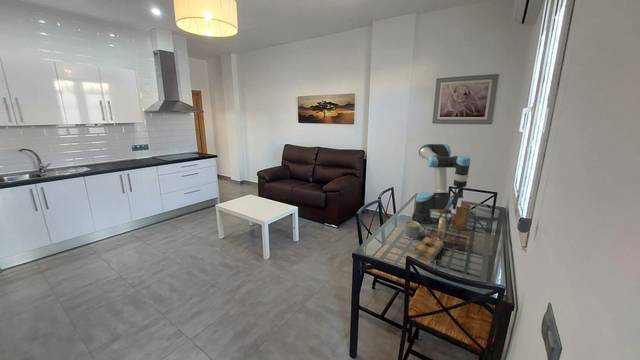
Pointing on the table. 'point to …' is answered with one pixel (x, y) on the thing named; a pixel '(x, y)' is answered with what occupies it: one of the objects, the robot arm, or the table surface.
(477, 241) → the table surface
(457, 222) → the block
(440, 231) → the peg
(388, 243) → the table surface
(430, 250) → the board
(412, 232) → the coffee mug
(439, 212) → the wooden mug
